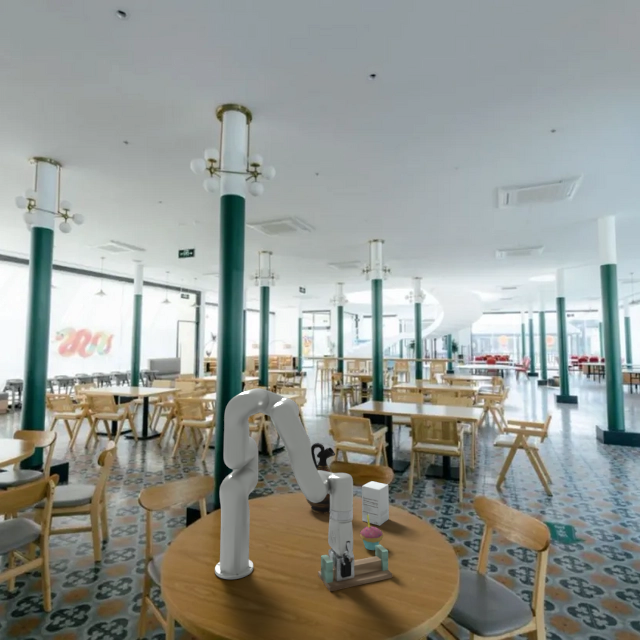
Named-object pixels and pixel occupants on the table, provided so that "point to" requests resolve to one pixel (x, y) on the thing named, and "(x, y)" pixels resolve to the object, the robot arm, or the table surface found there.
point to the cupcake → (371, 536)
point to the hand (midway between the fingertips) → (341, 570)
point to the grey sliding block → (337, 565)
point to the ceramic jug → (322, 465)
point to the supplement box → (375, 502)
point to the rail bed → (357, 579)
